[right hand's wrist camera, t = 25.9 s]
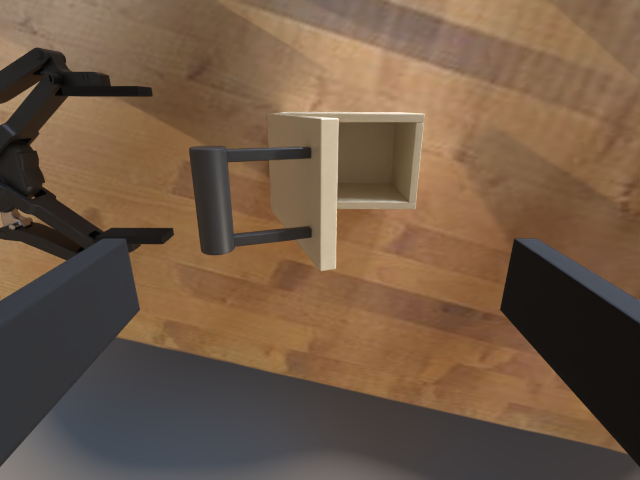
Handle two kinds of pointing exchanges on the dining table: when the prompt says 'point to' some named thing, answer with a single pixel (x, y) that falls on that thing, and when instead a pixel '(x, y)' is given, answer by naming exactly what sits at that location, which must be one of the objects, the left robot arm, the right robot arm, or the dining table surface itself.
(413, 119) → the chest
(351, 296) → the dining table surface
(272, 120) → the lid
